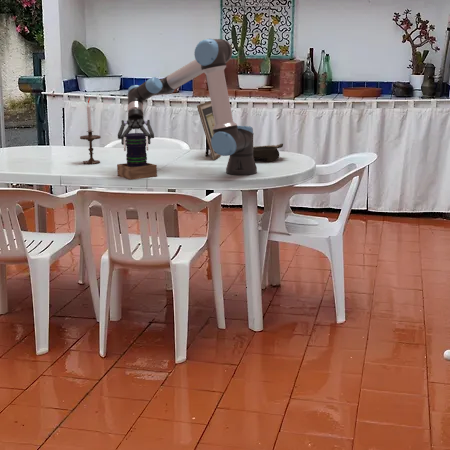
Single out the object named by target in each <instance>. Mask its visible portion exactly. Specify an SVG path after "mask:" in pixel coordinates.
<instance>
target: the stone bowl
mask: <svg viewBox="0 0 450 450" xmlns="http://www.w3.org/2000/svg"><path fill="white" fill-rule="evenodd" d="M283 146H284V143H280V144H276V145H274V144H273V145H272V144H271V145H259V146H253V158H254V160H256V159H257V160H258V159H263V160H264V162H266V163H272V162H274V161H277V160H278V159H280V151H279V150H278V149H281V148H283Z"/></svg>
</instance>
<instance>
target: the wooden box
mask: <svg viewBox="0 0 450 450" xmlns="http://www.w3.org/2000/svg"><path fill="white" fill-rule="evenodd" d="M157 166H158V165H157V164H154V163H150V162H147V165H146V166H141V167H130V166H127V162H126V163H117V165H116V167H117V170H116V171H117V173H116V174H117V176H118V177H121V178H125V179H128V180H132V181H133V180H138V179H147V178H154V177H158V167H157Z"/></svg>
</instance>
